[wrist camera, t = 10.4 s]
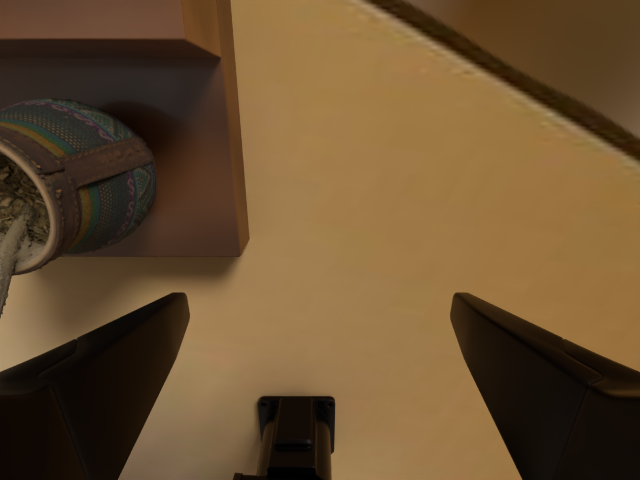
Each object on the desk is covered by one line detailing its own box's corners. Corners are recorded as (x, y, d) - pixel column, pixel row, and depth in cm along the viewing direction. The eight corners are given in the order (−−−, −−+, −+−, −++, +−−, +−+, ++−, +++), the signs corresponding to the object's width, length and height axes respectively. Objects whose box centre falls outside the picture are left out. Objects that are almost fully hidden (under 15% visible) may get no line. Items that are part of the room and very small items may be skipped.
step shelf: (249, 239, 24) (217, 299, 17) (50, 239, 24) (-71, 299, 17) (228, -29, 18) (165, -121, 11) (-32, -29, 18) (-273, -122, 11)
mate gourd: (125, 73, 17) (-99, 35, 8) (201, 205, 20) (98, 290, 11) (14, 132, 18) (-296, 158, 9) (100, 250, 21) (-75, 364, 12)
